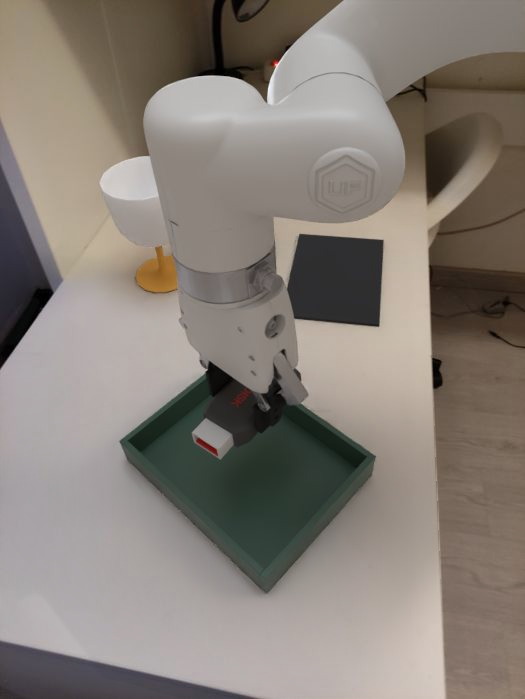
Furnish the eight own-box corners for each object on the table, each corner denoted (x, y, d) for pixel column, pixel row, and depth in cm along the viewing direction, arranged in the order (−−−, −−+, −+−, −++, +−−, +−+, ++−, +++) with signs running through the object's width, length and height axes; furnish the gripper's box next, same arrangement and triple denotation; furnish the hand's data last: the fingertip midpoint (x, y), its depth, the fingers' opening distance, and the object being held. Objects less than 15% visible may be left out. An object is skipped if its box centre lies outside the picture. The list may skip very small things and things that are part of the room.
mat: (379, 326, 76) (379, 324, 75) (280, 317, 78) (280, 315, 77) (383, 241, 89) (383, 239, 89) (299, 235, 91) (299, 233, 91)
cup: (205, 291, 82) (190, 192, 70) (128, 304, 81) (98, 206, 68) (196, 246, 90) (180, 150, 77) (126, 258, 89) (98, 161, 76)
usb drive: (301, 382, 56) (301, 365, 54) (228, 466, 50) (225, 450, 48) (261, 361, 58) (260, 344, 56) (187, 439, 52) (182, 422, 50)
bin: (372, 474, 60) (376, 456, 57) (266, 594, 52) (265, 579, 49) (232, 373, 71) (229, 353, 68) (126, 459, 63) (118, 440, 60)
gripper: (349, 282, 38) (338, 428, 51) (187, 200, 46) (214, 343, 59) (277, 343, 34) (285, 482, 47) (116, 241, 43) (162, 384, 56)
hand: (245, 404), depth 53 cm, fingers closed on usb drive, 5 cm apart
